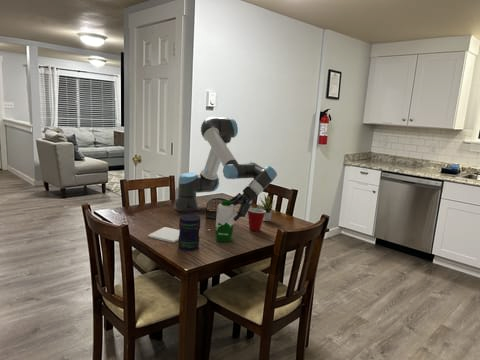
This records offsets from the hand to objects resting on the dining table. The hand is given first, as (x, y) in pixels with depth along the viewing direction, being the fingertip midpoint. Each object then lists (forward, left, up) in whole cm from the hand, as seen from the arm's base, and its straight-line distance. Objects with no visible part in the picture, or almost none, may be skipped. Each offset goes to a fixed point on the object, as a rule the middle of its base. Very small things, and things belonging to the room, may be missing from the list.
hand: (223, 220), depth 177 cm
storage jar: (+18, -10, -11) cm, 23 cm away
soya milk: (-1, 0, -11) cm, 11 cm away
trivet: (+9, -26, -10) cm, 29 cm away
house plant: (-46, +8, -11) cm, 48 cm away
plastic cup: (-25, +9, -11) cm, 29 cm away
